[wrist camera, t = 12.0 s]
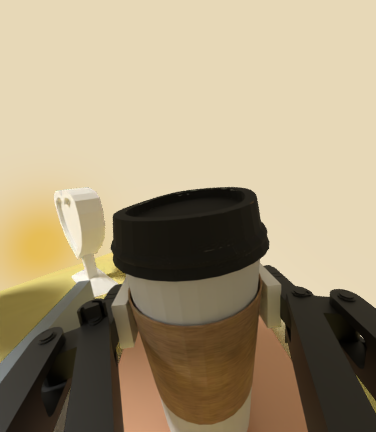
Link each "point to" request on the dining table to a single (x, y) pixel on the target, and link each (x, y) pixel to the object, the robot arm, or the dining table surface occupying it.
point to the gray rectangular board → (53, 321)
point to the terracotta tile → (260, 395)
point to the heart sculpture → (84, 233)
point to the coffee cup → (196, 300)
